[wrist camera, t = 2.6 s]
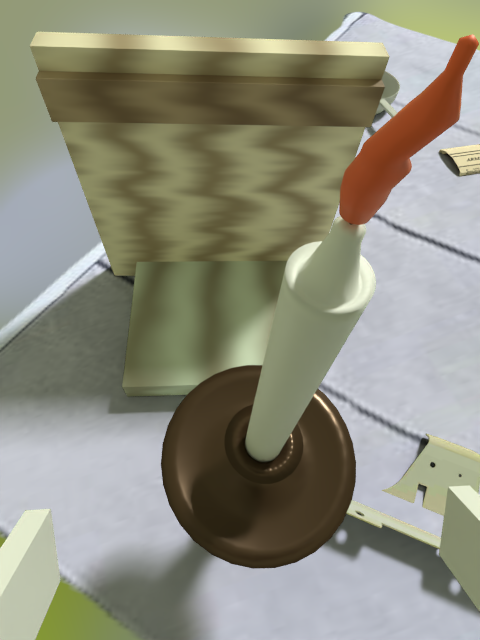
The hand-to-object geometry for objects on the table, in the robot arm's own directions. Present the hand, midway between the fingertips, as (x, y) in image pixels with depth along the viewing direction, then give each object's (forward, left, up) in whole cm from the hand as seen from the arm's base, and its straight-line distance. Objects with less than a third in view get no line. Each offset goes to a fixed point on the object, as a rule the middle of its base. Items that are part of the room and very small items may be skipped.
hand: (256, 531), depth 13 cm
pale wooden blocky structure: (+1, -22, -22) cm, 31 cm away
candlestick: (-1, -4, -22) cm, 23 cm away
